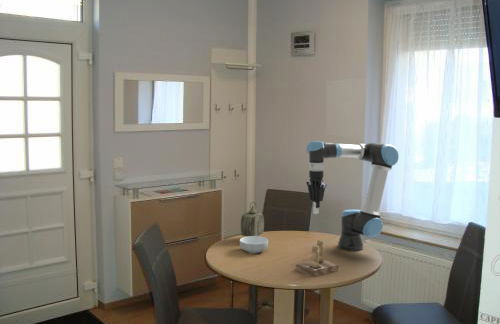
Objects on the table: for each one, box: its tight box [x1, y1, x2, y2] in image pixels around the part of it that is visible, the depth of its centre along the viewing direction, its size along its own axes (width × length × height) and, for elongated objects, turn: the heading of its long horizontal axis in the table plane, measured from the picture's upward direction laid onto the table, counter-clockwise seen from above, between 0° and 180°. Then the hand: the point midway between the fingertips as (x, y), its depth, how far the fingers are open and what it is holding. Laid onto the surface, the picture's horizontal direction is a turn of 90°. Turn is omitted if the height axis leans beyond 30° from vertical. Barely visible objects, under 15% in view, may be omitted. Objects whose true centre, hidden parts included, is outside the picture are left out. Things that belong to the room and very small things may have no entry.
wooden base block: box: [294, 240, 339, 278], centre depth 259 cm, size 18×13×14 cm
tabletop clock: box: [240, 201, 265, 237], centre depth 312 cm, size 14×9×25 cm, turn 150°
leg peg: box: [311, 245, 319, 269], centre depth 255 cm, size 4×4×14 cm
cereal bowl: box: [239, 235, 269, 254], centre depth 292 cm, size 17×17×7 cm
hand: (316, 213), depth 269 cm, fingers closed
